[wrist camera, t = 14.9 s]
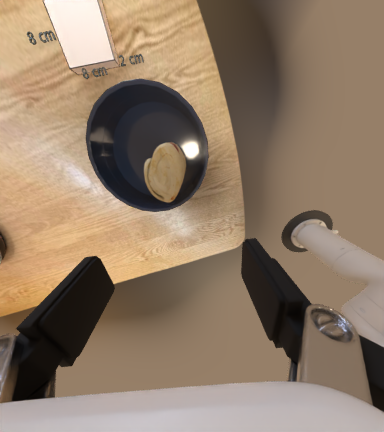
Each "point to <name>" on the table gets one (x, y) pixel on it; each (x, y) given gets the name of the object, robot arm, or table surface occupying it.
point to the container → (82, 35)
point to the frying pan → (2, 249)
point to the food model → (165, 171)
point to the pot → (143, 140)
